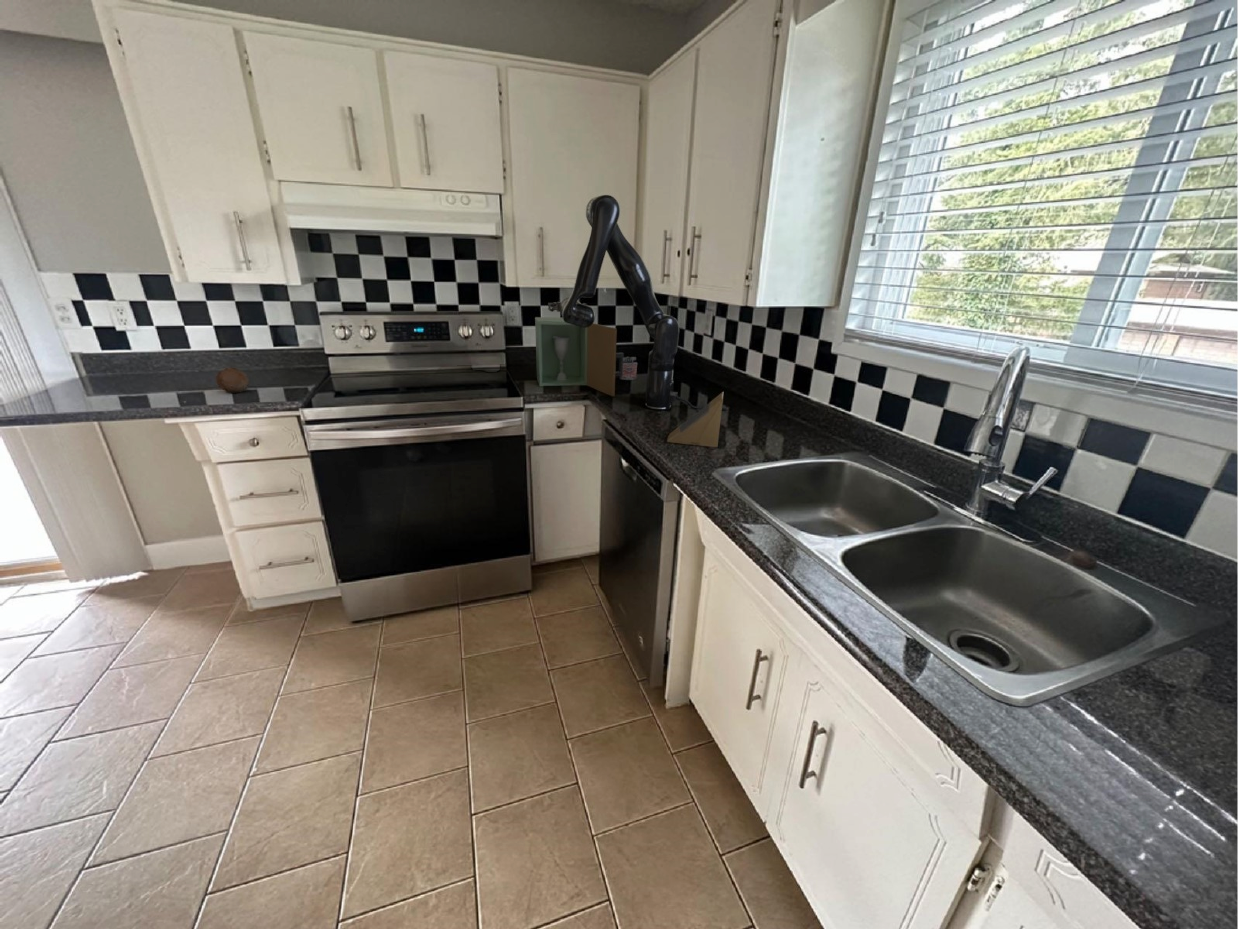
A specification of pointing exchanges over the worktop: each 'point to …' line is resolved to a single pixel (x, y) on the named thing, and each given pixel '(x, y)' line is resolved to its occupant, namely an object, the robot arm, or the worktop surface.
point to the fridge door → (602, 358)
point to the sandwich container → (701, 426)
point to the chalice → (561, 353)
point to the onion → (232, 380)
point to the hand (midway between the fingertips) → (565, 305)
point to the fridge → (548, 359)
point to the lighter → (629, 369)
